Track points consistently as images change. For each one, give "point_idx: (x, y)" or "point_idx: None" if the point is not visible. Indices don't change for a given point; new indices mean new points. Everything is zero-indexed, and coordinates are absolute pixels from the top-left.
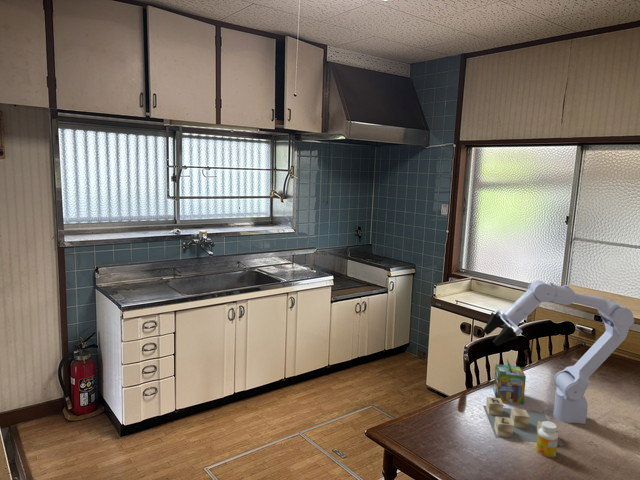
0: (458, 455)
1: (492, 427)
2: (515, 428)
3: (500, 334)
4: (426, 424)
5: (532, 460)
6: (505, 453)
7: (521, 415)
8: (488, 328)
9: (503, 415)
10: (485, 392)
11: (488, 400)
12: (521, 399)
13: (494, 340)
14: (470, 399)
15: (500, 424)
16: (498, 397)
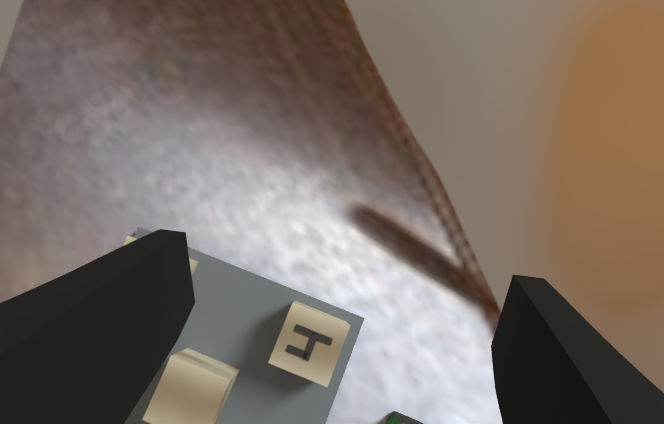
0: (101, 59)
1: (202, 256)
2: (174, 347)
3: (15, 313)
4: (291, 44)
5: (4, 288)
6: (67, 218)
7: (162, 387)
8: (533, 367)
9: None
10: (493, 416)
11: (317, 312)
12: None
13: (145, 239)
14: (439, 306)
15: (124, 242)
16: (396, 422)
